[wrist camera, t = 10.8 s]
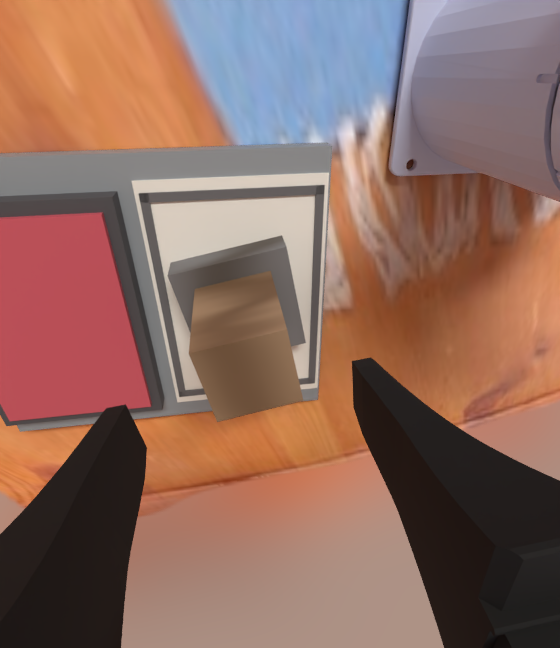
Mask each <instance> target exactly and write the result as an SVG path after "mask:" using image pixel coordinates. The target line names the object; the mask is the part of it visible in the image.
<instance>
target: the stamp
mask: <svg viewBox="0 0 560 648" xmlns="http://www.w3.org/2000/svg"><path fill="white" fill-rule="evenodd" d="M168 279H169V281H170V284H171V286H172V289H173V291H174V293H175V296H176V298H177V301H178V303H179V306H180V308H181V311H182V313H183V316H184V318H185V321H186V323H187V326H188V328H189V331H190V333H191V334H190V344H189V356H190V358H191V360H192V363H193V365H194V368H195V370H196V372H197V375H198V377H199V380H200V382H201V384H202V387H203V389H204V391H205V394H206V396H207V399H208V401H209V403H210V406H211V408H212V410H213V413H214V415H215V418H216V420H217V422H219V421H223V420H227V419H231V418H235V417H240V416H244V415H248V414H252V413H256V412H260V411H264V410H268V409H272V408H276V407H280V406H284V405H288V404H292V403H296V402H300V401H303V396H302V392H301V388H300V383H299V379H298V375H297V370H296V366H295V362H294V357H293V353H292V349H291V347H292V346H296V345H300V344H304V343H306V341H305V336H304V331H303V326H302V321H301V316H300V311H299V306H298V301H297V296H296V291H295V286H294V281H293V276H292V271H291V266H290V261H289V256H288V251H287V247H286V244H285V242H284V239H283V237H282V235H281V236H277V237H273V238H269V239H265V240H261V241H257V242H253V243H249V244H245V245H240V246H236V247H232V248H228V249H224V250H220V251H216V252H212V253H208V254H204V255H199V256H195V257H191V258H187V259H183V260H179V261H175V262H171V263H170V267H169V272H168Z"/></svg>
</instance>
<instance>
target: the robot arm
mask: <svg viewBox="0 0 560 648" xmlns="http://www.w3.org/2000/svg"><path fill="white" fill-rule="evenodd" d="M411 159H413V162H414V163H413V166H412V167H411V168H410V169H407V168H406V165H407V162H408V161H409V160H411ZM389 170H390V172H391V173H392V174H394V175H395V176H419V175H442V174H465V173H483V174H485V175H488V176H491V177H494V178H496V179H499V180H502V181H505V182H507V183H510V184H513V185H515V186H518V187H521V188H524V189H526V190H529V191H532V192H534V193H537V194H540V195H543V196H545V197H548V198H551V199H554V200H556V201H559V202H560V0H410V4H409V12H408V20H407V27H406V35H405V43H404V50H403V58H402V66H401V73H400V81H399V88H398V96H397V104H396V111H395V119H394V127H393V134H392V142H391V150H390V157H389ZM352 372H353V402H354V410H355V413H356V416H357V419H358V422H359V425H360V428H361V431H362V434H363V436H364V438H365V441H366V443H367V445H368V447H369V449H370V451H371V454H372V456H373V458H374V460H375V462H376V464H377V466H378V468H379V470H380V473H381V475H382V477H383V479H384V481H385V483H386V485H387V487H388V489H389V491H390V494H391V495H392V498H393V500H394V503H395V505H396V507H397V510H398V512H399V515H400V518H401V521H402V523H403V526H404V529H405V532H406V534H407V537H408V540H409V543H410V546H411V548H412V551H413V554H414V557H415V560H416V563H417V566H418V568H419V571H420V574H421V577H422V580H423V583H424V586H425V589H426V592H427V595H428V598H429V601H430V604H431V607H432V610H433V614H434V616H435V620H436V623H437V626H438V629H439V632H440V636H441V639H442V642H443V645H444V648H560V481H559V480H557V479H554V478H552V477H550V476H548V475H545V474H543V473H541V472H539V471H537V470H535V469H532V468H530V467H528V466H526V465H524V464H522V463H520V462H518V461H516V460H514V459H512V458H510V457H508V456H506V455H504V454H503V453H500V452H499V451H497V450H495V449H493V448H491V447H489V446H487V445H486V444H484V443H482V442H480V441H479V440H477V439H475V438H474V437H472V436H470V435H469V434H467V433H466V432H464V431H462V430H461V429H459V428H458V427H456V426H455V425H453V424H452V423H450V422H449V421H447V420H446V419H445V418H443V417H442V416H440V415H439V414H438V413H436V412H435V411H434V410H432V409H431V408H430V407H428V406H427V405H426V404H424V403H423V402H422V401H421V400H419V399H418V398H417V397H416V396H414V395H413V394H412V393H411V392H409V391H408V390H407V389H406V388H405V387H403V386H402V385H401V384H400V383H399V382H398V381H397V380H395V379H394V378H393V377H392V376H391V375H390V374H389V373H388V372H386V371H385V370H384V369H383V368H382V367H381V366H380V365H379V364H378V363H377V362H376V361H375V360H373V359H372V358H366V359H361V360H356V361H352ZM146 452H147V447H146V445H145V443H144V441H143V439H142V437H141V435H140V433H139V431H138V429H137V426H136V424H135V422H134V420H133V418H132V416H131V414H130V412H129V410H128V408H127V406H126V404H125V405H120V406H115V407H109V408H106V409H105V410H104V412H103V413H102V414H101V415H100V417H99V418H98V419H97V421H96V422H95V423H94V425H93V426H92V427H91V429H90V430H89V431H88V433H87V434H86V435H85V437H84V438H83V439H82V441H81V442H80V443H79V445H78V446H77V447H76V449H75V450H74V451H73V452H72V454H71V455H70V456H69V458H68V459H67V460H66V461H65V463H64V464H63V465H62V466H61V468H60V469H59V470H58V471H57V472H56V474H55V475H54V476H53V477H52V478H51V480H50V481H49V482H48V483H47V484H46V486H45V487H44V488H43V489H42V490H41V491H40V493H39V494H38V495H37V496H36V497H35V498H34V500H33V501H32V502H31V503H30V504H29V505H28V506H27V507H26V508H25V509H24V510H23V512H22V513H21V514H20V515H19V516H18V517H17V518H16V519H15V520H14V521H13V522H12V523H11V524H10V525H9V526H8V527H7V528H6V529H5V530H4V531H3V532H2V533H1V534H0V648H121V638H122V625H123V613H124V601H125V591H126V580H127V571H128V564H129V557H130V551H131V546H132V541H133V536H134V531H135V526H136V521H137V516H138V511H139V506H140V501H141V496H142V491H143V486H144V480H145V469H146Z"/></svg>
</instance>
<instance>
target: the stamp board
mask: <svg viewBox="0 0 560 648" xmlns="http://www.w3.org/2000/svg"><path fill="white" fill-rule="evenodd" d="M331 159H332V146H331V145H330V144H328V143H302V144H271V145H241V146H210V147H180V148H150V149H119V150H89V151H58V152H28V153H0V415H1V417H2V419H3V421H4V422H5V424H6V426H12V425H17V426H18V428H19V430H20V432H21V431H30V430H39V429H49V428H58V427H67V426H77V425H86V424H94V423H95V422H96V421H97V419H98V418H99V417H100V415H101V414H102V413H103V412H104V410H105V409H106V408H109V407H115V406H120V405H125V404H126V406H127V408H128V410H129V412H130V414H131V416H132V418H133V419H142V418H151V417H160V416H170V415H179V414H188V413H198V412H207V411H213V410H212V408H211V406H210V403H209V401H208V399H207V396H206V394H205V391H204V389H203V387H202V384H201V382H200V380H199V377H198V375H197V372H196V370H195V368H194V365H193V363H192V360H191V358H190V356H189V344H190V334H191V333H190V331H189V328H188V326H187V323H186V321H185V318H184V316H183V313H182V311H181V308H180V306H179V303H178V301H177V298H176V296H175V293H174V291H173V289H172V286H171V284H170V281H169V279H168V272H169V267H170V263H171V262H175V261H179V260H183V259H187V258H191V257H195V256H199V255H204V254H208V253H212V252H216V251H220V250H224V249H228V248H232V247H236V246H240V245H245V244H249V243H253V242H257V241H261V240H265V239H269V238H273V237H277V236H281V235H282V237H283V239H284V242H285V244H286V247H287V251H288V256H289V261H290V266H291V271H292V276H293V281H294V286H295V291H296V296H297V301H298V306H299V311H300V316H301V321H302V326H303V331H304V336H305V341H306V343H304V344H300V345H296V346H292V347H291V349H292V353H293V357H294V362H295V366H296V370H297V375H298V379H299V383H300V388H301V392H302V396H303V401H309V400H318V390H319V372H320V354H321V337H322V319H323V301H324V283H325V265H326V248H327V230H328V212H329V194H330V177H331Z"/></svg>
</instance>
